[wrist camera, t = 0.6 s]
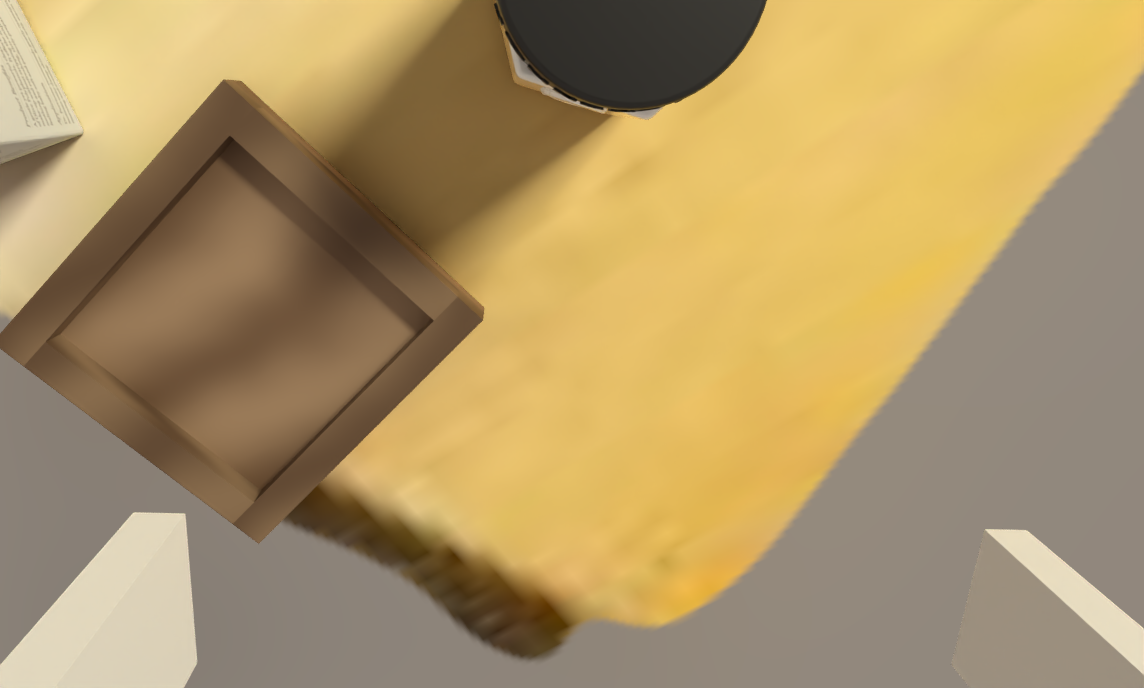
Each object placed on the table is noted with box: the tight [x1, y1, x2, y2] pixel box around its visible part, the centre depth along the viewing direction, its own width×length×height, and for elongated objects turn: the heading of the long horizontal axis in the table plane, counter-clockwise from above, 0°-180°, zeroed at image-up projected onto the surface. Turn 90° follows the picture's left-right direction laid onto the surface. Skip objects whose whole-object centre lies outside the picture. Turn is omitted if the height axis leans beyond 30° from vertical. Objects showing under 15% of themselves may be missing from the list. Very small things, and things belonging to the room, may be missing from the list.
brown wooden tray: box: [0, 80, 484, 543], centre depth 36 cm, size 14×15×2 cm
